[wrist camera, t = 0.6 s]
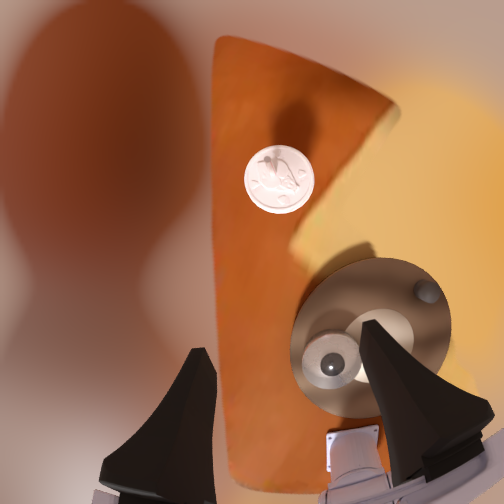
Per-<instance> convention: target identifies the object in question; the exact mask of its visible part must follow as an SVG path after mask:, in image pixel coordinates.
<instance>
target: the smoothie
mask: <svg viewBox="0 0 504 504" xmlns="http://www.w3.org/2000/svg"><path fill="white" fill-rule="evenodd" d="M244 181H245V187H246V190H247V193H248V194H249V196H250V198H251V199H252V201H253V202H254V203H255V204H256V205H257V206H258V207H260V208H262V209H264V210H265V211H267V212H272V213H276V214H278V213H288V212H291V211H294V210H296V209H298V208H299V207H301V206H302V205H303V204H304V203H305V202H306V201H307V200H308V199H309V197H310V195H311V193H312V191H313V187H314V173H313V169H312V166H311V164H310V162H309V161H308V159H307V158H306V157H305V156H304V155H303V154H302V153H301V152H300V151H298V150H296V149H294V148H292V147H289V146H284V145H274V146H270V147H267V148H264V149H262V150H260V151H259V152H258V153H256V154H255V155H254V156H253V157H252V159H251V160H250V161H249V163H248V165H247V167H246V170H245V176H244Z"/></svg>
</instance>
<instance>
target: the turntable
mask: <svg viewBox="0 0 504 504" xmlns="http://www.w3.org/2000/svg"><path fill="white" fill-rule="evenodd" d="M372 319H376V320H377V321H378V322H379V323H380V324H381V325H382V327H383V328H384V329H385V330H386V331H387V332H388V333H389V334H390V335H391V336H392V337H393V338H394V339H395V340H396V341H397V342H398V343H399V344H400V345H401V346H402V347H403V348H404V349H405V350H407V351H408V352H409V353H410V354H411V355H412V356H413V357H414V358H415V359H417V360H418V361H419V362H420V363H421V364H423V365H424V366H425V367H426V368H428V369H429V370H431V371H432V372H433V373H435V374H437V373H438V371H439V369H440V368H441V366H442V364H443V361H444V359H445V357H446V354H447V351H448V347H449V343H450V337H451V316H450V310H449V306H448V302H447V299H446V297H445V295H444V293H443V291H442V290H441V288H440V286H439V285H438V283H437V282H436V281H435V280H434V279H433V278H432V277H431V276H430V275H429V274H428V273H427V272H425V271H424V270H423V269H421V268H419V267H418V266H416V265H414V264H411V263H409V262H406V261H403V260H398V259H393V258H369V259H365V260H360V261H357V262H354V263H351V264H349V265H346V266H344V267H342V268H341V269H339V270H337V271H335V272H334V273H332V274H331V275H329V276H328V277H327V278H326V279H324V280H323V281H322V282H321V283H320V284H319V285H318V286H317V287H316V288H315V289H314V290H313V291H312V292H311V294H310V295H309V296H308V298H307V299H306V301H305V302H304V304H303V305H302V307H301V309H300V311H299V313H298V315H297V318H296V321H295V323H294V327H293V331H292V335H291V344H290V361H291V366H292V371H293V374H294V377H295V379H296V381H297V383H298V385H299V387H300V389H301V390H302V391H303V393H304V394H305V395H306V397H307V398H308V399H309V400H311V401H312V402H313V403H314V404H315V405H317V406H318V407H319V408H321V409H323V410H325V411H327V412H329V413H331V414H334V415H337V416H341V417H346V418H355V419H358V418H371V417H377V416H381V413H380V410H379V406H378V404H377V401H376V399H375V396H374V393H373V391H372V388H371V386H370V383H369V381H368V378H367V376H366V373H365V371H364V368H363V364H362V365H361V368H360V371H359V373H358V374H357V376H356V377H355V378H354V379H353V380H352V381H351V382H350V383H348V384H347V385H345V386H342V387H340V388H336V389H322V388H319V387H316V386H314V385H313V384H311V383H310V382H309V381H308V380H307V379H306V377H305V375H304V373H303V370H302V355H303V350H304V347H305V345H306V343H307V342H308V341H309V339H310V338H311V337H312V336H314V335H315V334H317V333H318V332H321V331H323V330H327V329H339V330H343V331H345V332H347V333H349V334H350V335H351V336H352V337H353V338H354V339H355V341H356V342H357V344H358V346H359V345H360V338H361V330H362V322H364V321H368V320H372Z"/></svg>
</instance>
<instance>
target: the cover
mask: <svg viewBox="0 0 504 504" xmlns="http://www.w3.org/2000/svg"><path fill="white" fill-rule="evenodd" d="M361 365H362V361H361V357H360V353H359V346H358V344H357V342H356V341H355V339H354V338H353V337H352V336H351V335H350V334H349V333H347V332H345V331H343V330H339V329H327V330H323V331H321V332H318V333H317V334H315V335H314V336H312V337H311V338H310V339H309V341H308V342H307V343H306V345H305V347H304V350H303V355H302V370H303V373H304V375H305V377H306V379H307V380H308V381H309V382H310V383H311V384H313V385H314V386H316V387H319V388H322V389H336V388H340V387H342V386H345V385H347V384H348V383H350V382H351V381H352V380H353V379H354V378H355V377H356V376H357V374H358V373H359V371H360V368H361Z"/></svg>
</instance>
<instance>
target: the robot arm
mask: <svg viewBox="0 0 504 504" xmlns="http://www.w3.org/2000/svg"><path fill="white" fill-rule="evenodd" d="M359 353H360V357H361V361H362V364H363V368H364V371H365V373H366V376H367V378H368V381H369V383H370V386H371V388H372V391H373V393H374V396H375V399H376V401H377V404H378V406H379V410H380V413H381V417H382V421H383V425H384V429H385V434H386V439H387V445H388V451H389V458H390V466H391V471H389V472H386V474H387V477H386V474H385V470H384V467H382V464H381V461H380V457H379V454H378V450H377V440H378V431H379V426H378V425H372V426H367V427H361V428H356V429H350V430H343V431H337V432H329V433H327V471H328V472H331V483H329V484H328V490H324V491H322V493H321V494H320V496H319V498H318V504H469V503H470V502H471V501H473V500H474V499H476V498H477V497H479V496H480V495H481V494H482V493H484V492H485V491H487V490H488V489H489V488H491V487H492V486H493V485H494V484H496V483H497V482H498V481H500V480H501V479H502V478H503V477H504V428H502V429H501V430H499V431H498V432H497V433H495V434H494V435H492V436H491V437H489V438H488V439H486V440H485V441H484V442H481V439H480V438H482V436H483V435H482V432H481V430H482V429H483V428H484V427H485V426H487V424H488V423H490V422H491V420H493V418H494V416H495V414H494V412H493V410H492V408H491V406H490V404H489V402H488V401H487V400H485V399H483V398H480V397H477V396H475V395H472V394H470V393H468V392H466V391H463V390H461V389H459V388H458V387H456V386H454V385H452V384H451V383H449V382H447V381H445V380H444V379H442V378H441V377H439V376H438V375H436V374H435V373H433V372H432V371H431V370H429V369H428V368H426V367H425V366H424V365H423V364H421V363H420V362H419V361H418V360H417V359H415V358H414V357H413V356H412V355H411V354H410V353H409V352H408V351H407V350H405V349H404V348H403V347H402V346H401V345H400V344H399V343H398V342H397V341H396V340H395V339H394V338H393V337H392V336H391V335H390V334H389V333H388V332H387V331H386V330H385V329H384V328H383V327H382V325H381V324H380V323H379V322H378V321H377V320H376V319H372V320H368V321H364V322H362V330H361V338H360V345H359ZM216 397H217V373H216V370H215V369H214V366H213V364H212V362H211V360H210V358H209V356H208V354H207V352H206V349H205V348H192V349H191V351H190V352H189V355H188V357H187V358H186V361H185V363H184V364H183V366H182V368H181V370H180V372H179V373H178V375H177V377H176V379H175V380H174V382H173V384H172V386H171V387H170V389H169V391H168V392H167V394H166V395H165V397H164V398H163V400H162V401H161V403H160V404H159V406H158V407H157V408H156V410H155V411H154V412H153V414H152V415H151V416H150V417H149V419H148V420H147V421H146V422H145V423H144V424H143V425H142V427H141V428H140V429H139V430H138V431H137V432H136V433H135V434H134V435H133V436H132V437H131V438H130V439H129V440H127V441H126V442H125V443H124V444H123V445H122V446H121V447H120V448H118V449H117V450H116V451H114V452H113V453H112V454H110V455H109V456H107V457H106V458H105V459H104V461H103V463H102V467H101V472H100V477H99V482H100V483H101V484H103V485H105V486H107V487H109V488H111V489H113V490H116V491H118V492H120V496H119V497H118V496H116V495H112V494H109V493H106V492H103V491H100V490H97V489H95V490H94V494H93V500H92V504H217V502H216V494H215V486H214V475H213V456H212V433H213V423H214V414H215V406H216ZM375 429H376V430H375ZM329 437H331V438H329Z"/></svg>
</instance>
